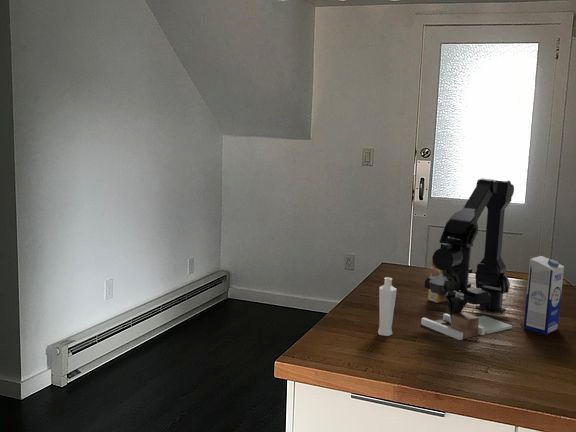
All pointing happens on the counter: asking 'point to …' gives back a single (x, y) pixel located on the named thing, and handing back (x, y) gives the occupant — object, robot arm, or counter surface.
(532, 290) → the milk carton
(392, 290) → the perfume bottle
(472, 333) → the block
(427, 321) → the channel
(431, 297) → the candy box
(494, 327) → the pad
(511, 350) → the counter surface
